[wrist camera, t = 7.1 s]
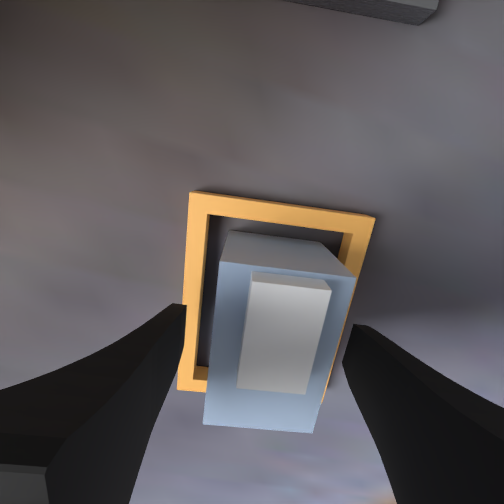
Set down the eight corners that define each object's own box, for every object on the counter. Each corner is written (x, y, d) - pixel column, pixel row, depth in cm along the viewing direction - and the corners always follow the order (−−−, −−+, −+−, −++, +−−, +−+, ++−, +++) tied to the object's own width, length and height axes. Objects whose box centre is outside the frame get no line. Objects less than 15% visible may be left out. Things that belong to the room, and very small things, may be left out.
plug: (215, 348, 14) (199, 444, 9) (229, 229, 12) (216, 270, 7) (293, 356, 15) (317, 453, 10) (319, 241, 13) (367, 288, 8)
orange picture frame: (181, 375, 15) (176, 389, 14) (194, 190, 12) (189, 192, 11) (317, 388, 15) (321, 403, 14) (365, 214, 12) (375, 218, 11)
